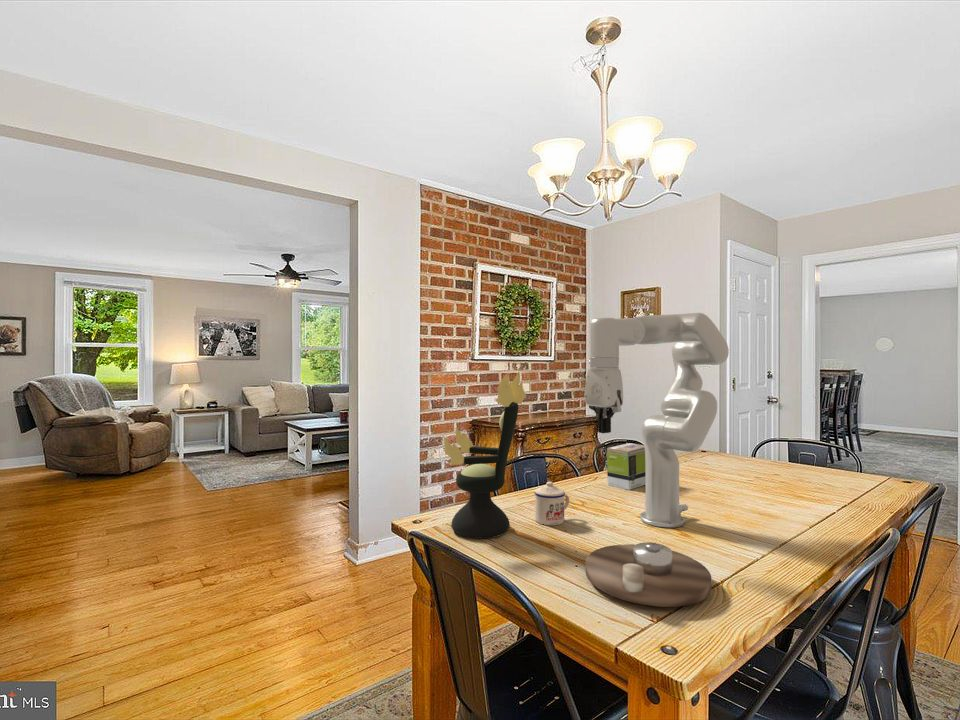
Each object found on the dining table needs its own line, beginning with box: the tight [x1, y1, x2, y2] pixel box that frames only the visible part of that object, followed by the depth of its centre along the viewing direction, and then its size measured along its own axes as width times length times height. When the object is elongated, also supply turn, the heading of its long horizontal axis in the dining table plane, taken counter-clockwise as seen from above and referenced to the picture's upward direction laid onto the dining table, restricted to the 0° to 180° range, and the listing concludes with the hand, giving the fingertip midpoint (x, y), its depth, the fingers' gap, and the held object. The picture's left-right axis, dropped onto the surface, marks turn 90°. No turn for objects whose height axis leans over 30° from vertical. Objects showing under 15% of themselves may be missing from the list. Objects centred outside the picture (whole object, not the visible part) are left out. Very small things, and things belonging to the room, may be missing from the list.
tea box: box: [606, 442, 646, 491], centre depth 188 cm, size 15×10×15 cm
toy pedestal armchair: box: [443, 372, 527, 539], centre depth 140 cm, size 19×22×45 cm
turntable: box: [585, 543, 712, 608], centre depth 107 cm, size 26×26×6 cm
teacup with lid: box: [534, 481, 570, 526], centre depth 148 cm, size 12×9×12 cm
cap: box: [634, 541, 673, 576], centre depth 107 cm, size 8×8×5 cm
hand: (604, 432), depth 131 cm, fingers closed
